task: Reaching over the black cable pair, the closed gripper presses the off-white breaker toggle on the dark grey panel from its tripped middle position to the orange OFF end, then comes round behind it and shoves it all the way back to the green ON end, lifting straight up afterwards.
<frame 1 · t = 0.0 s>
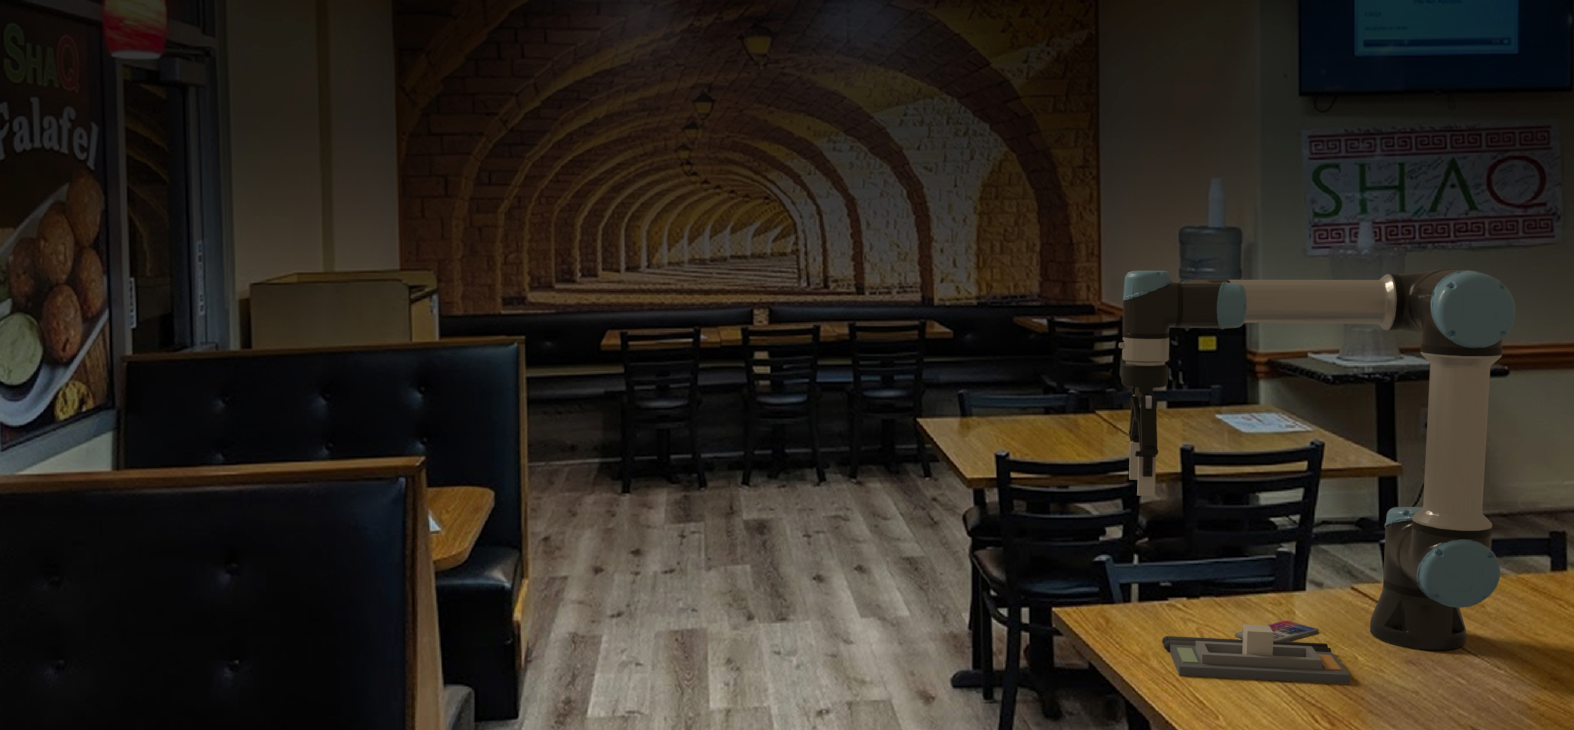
hand: (1141, 487, 216), 28 cm above the table, fingers open, 13 cm apart
breaker toggle: (1257, 643, 208), point 4 cm above the table, slide at 0.0 cm
cord a: (1246, 650, 217), on the table
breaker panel: (1256, 668, 208), on the table
cord b: (1248, 654, 215), on the table
smartphone: (1276, 637, 226), on the table
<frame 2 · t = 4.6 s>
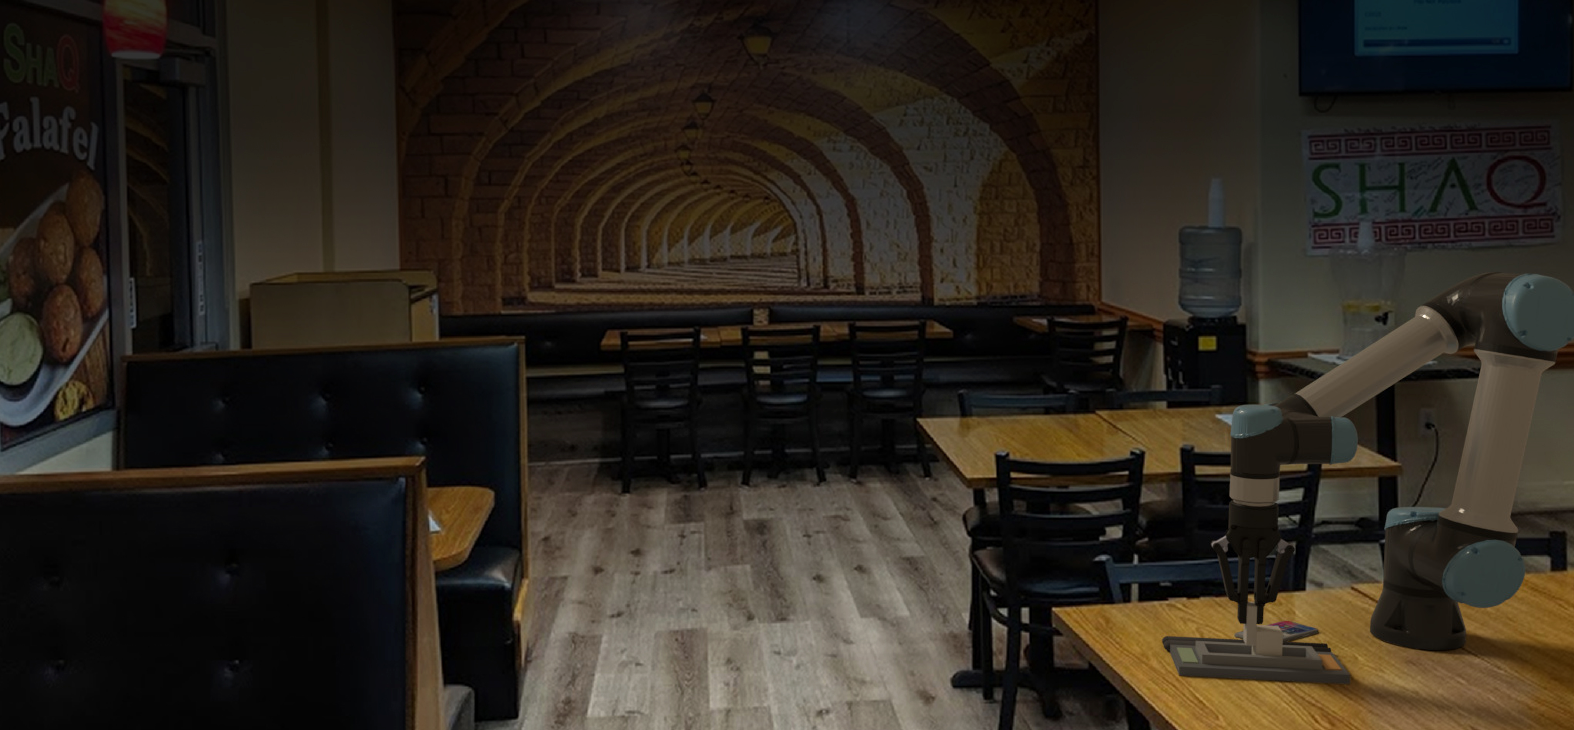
hand: (1249, 642, 208), 4 cm above the table, fingers closed
breaker toggle: (1267, 643, 207), point 4 cm above the table, slide at -1.5 cm, touching gripper
everything else where it was.
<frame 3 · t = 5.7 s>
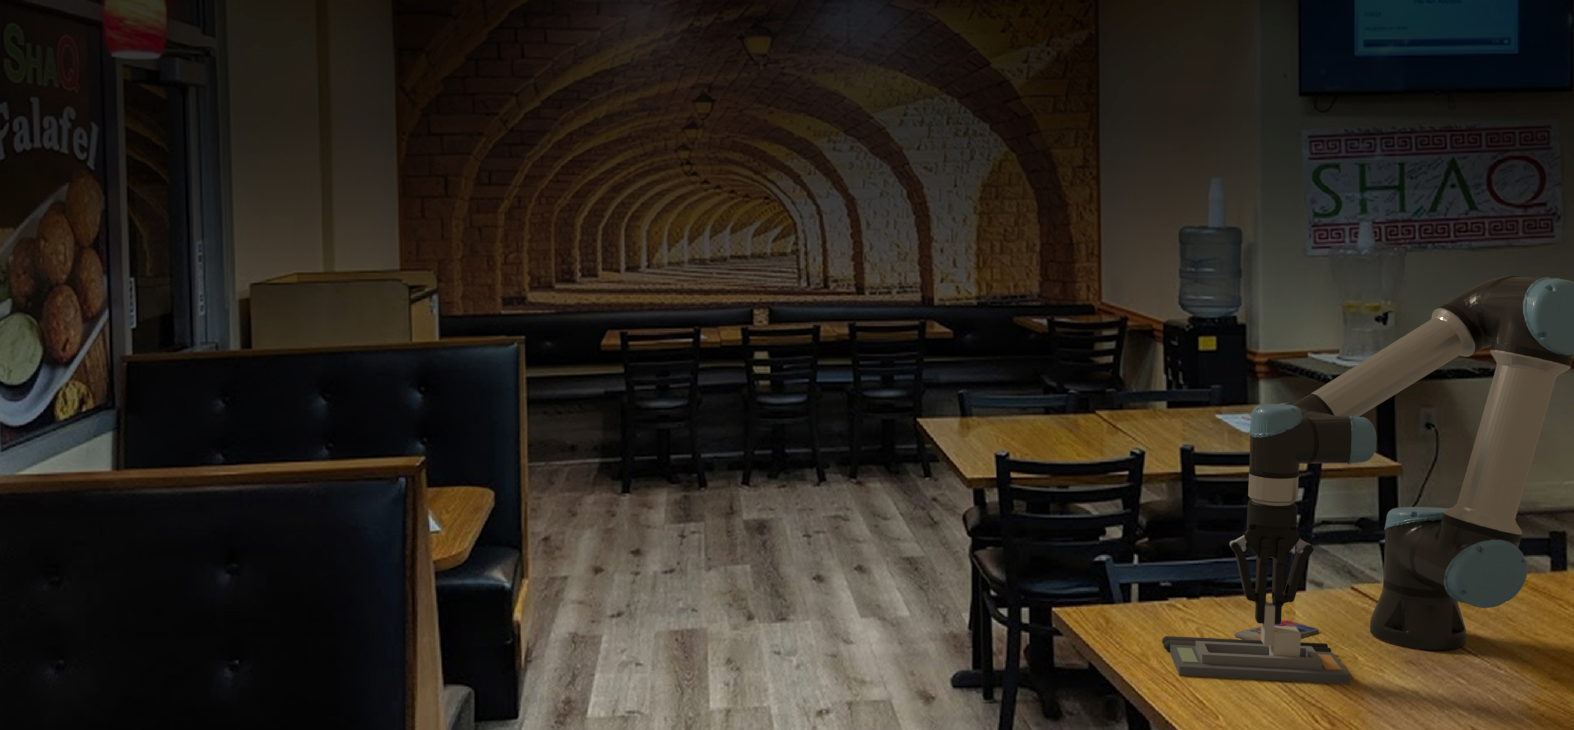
hand: (1267, 642, 207), 4 cm above the table, fingers closed
breaker toggle: (1284, 644, 207), point 4 cm above the table, slide at -4.2 cm, touching gripper
everything else where it was.
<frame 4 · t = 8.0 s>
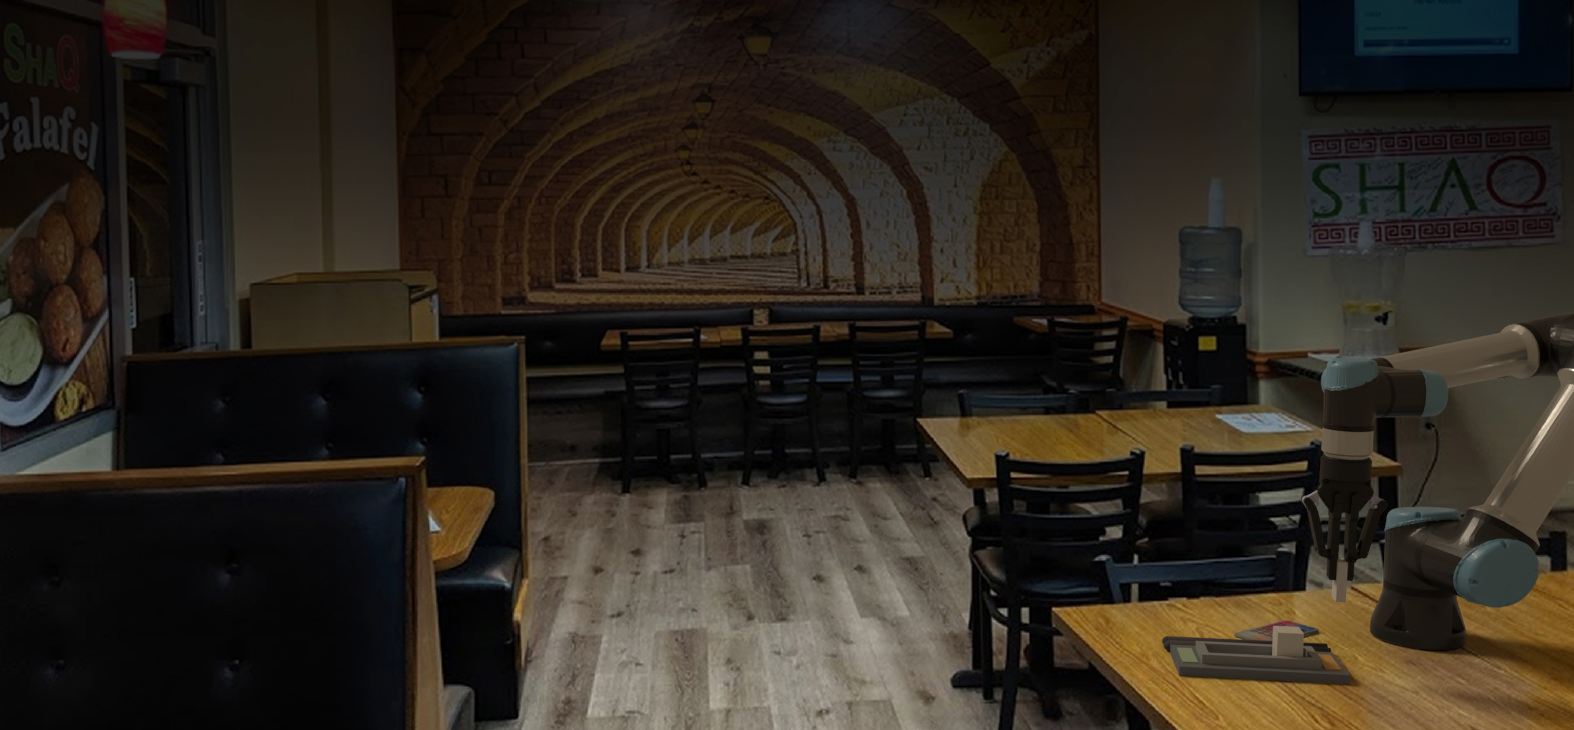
hand: (1338, 599, 205), 12 cm above the table, fingers closed
breaker toggle: (1287, 644, 207), point 4 cm above the table, slide at -4.7 cm
everything else where it was.
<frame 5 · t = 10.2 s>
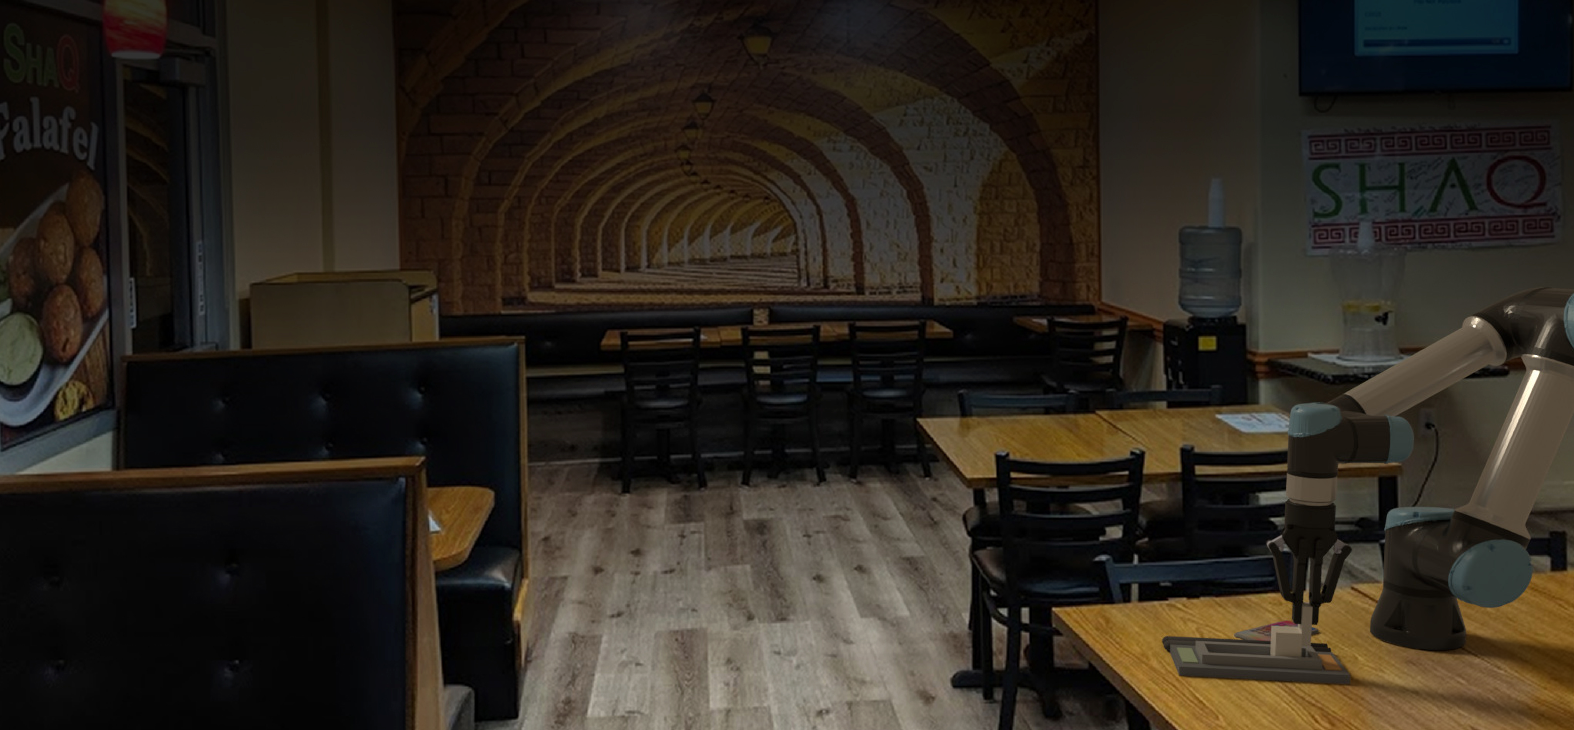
hand: (1303, 643, 206), 5 cm above the table, fingers closed
breaker toggle: (1286, 644, 207), point 4 cm above the table, slide at -4.4 cm, touching gripper
everything else where it was.
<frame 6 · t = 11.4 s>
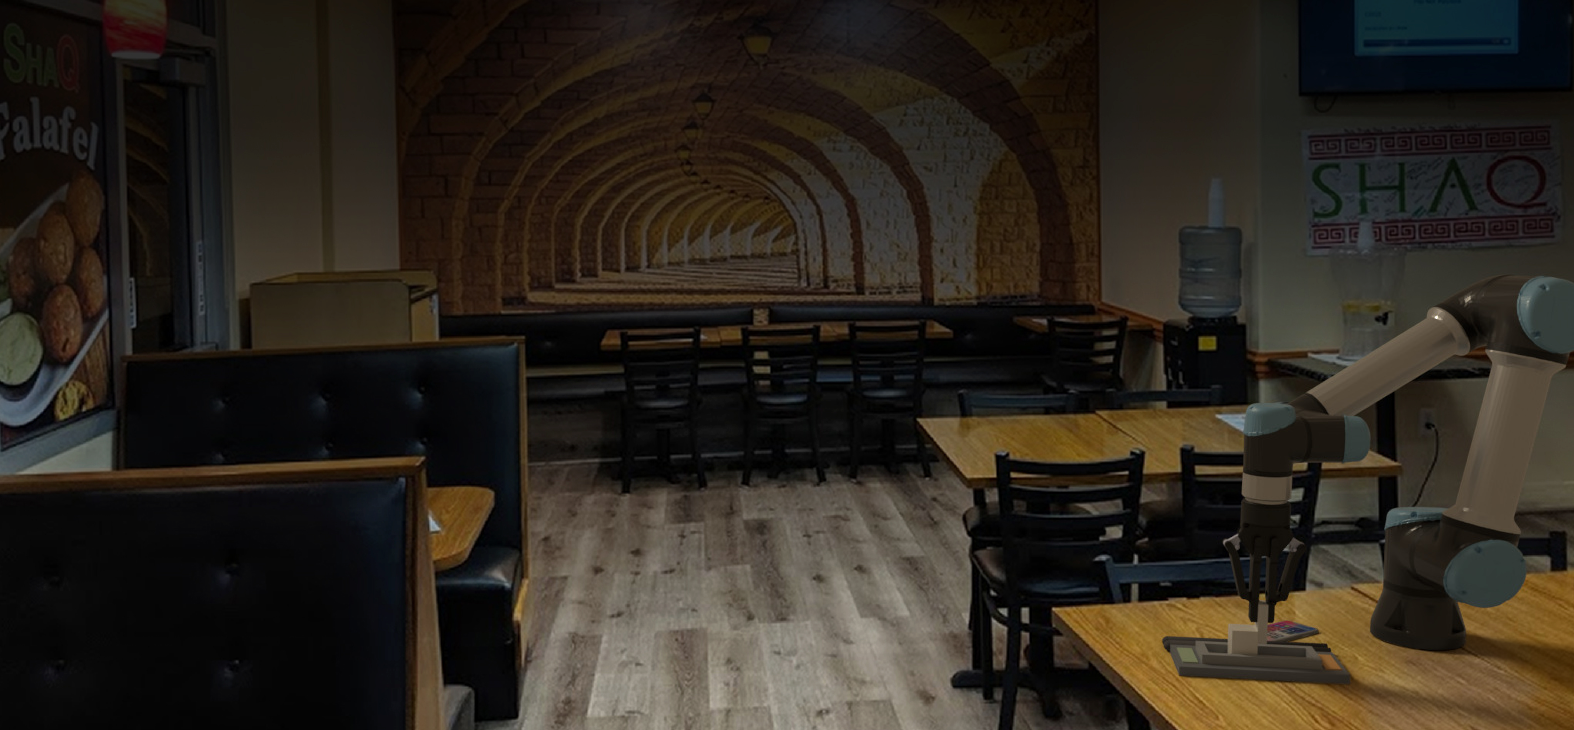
hand: (1260, 641, 207), 5 cm above the table, fingers closed
breaker toggle: (1242, 642, 208), point 4 cm above the table, slide at 2.4 cm, touching gripper
everything else where it was.
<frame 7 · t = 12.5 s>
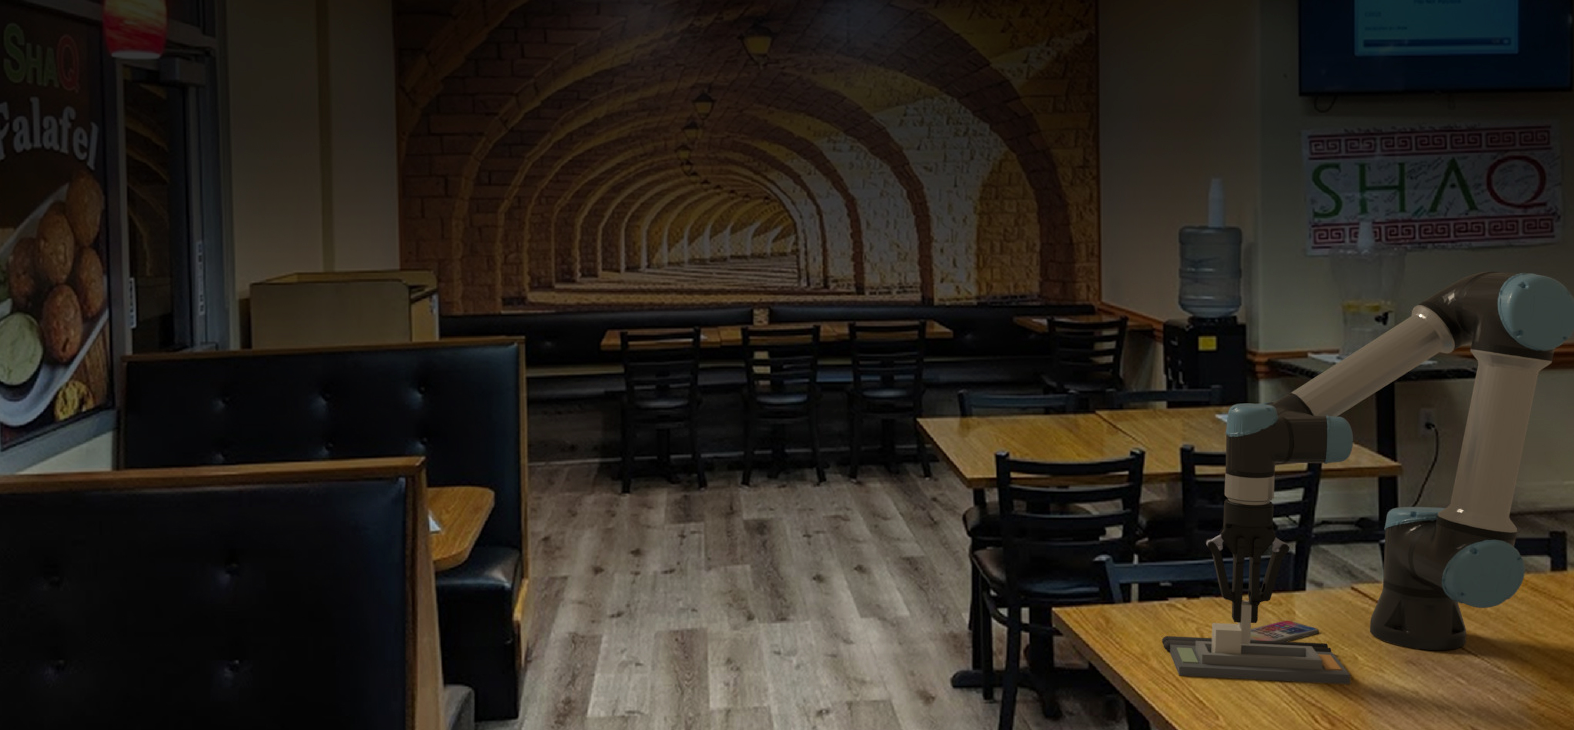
hand: (1243, 641, 208), 4 cm above the table, fingers closed
breaker toggle: (1226, 641, 208), point 4 cm above the table, slide at 4.9 cm, touching gripper
everything else where it was.
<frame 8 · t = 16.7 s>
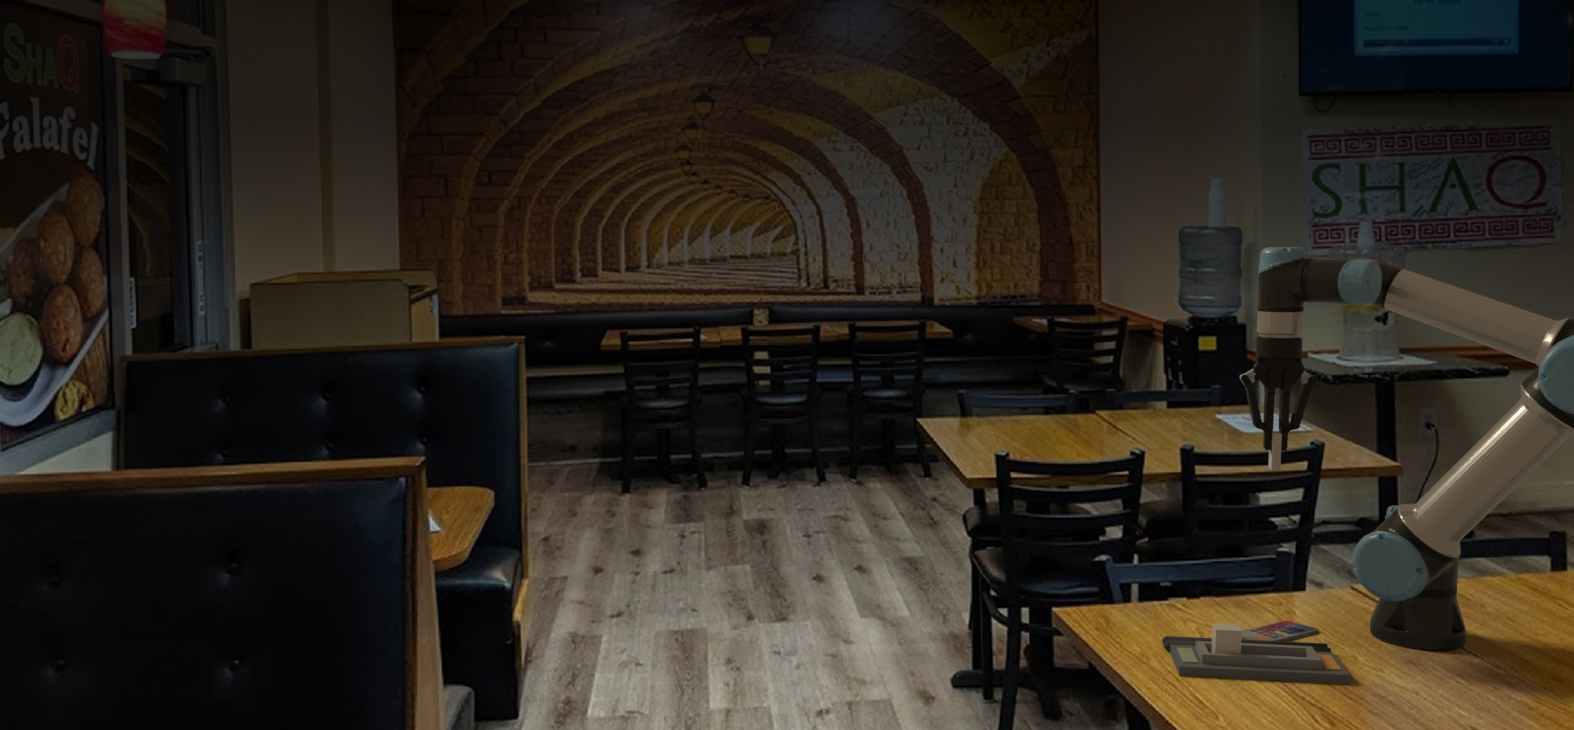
hand: (1274, 468, 225), 29 cm above the table, fingers closed
breaker toggle: (1226, 641, 208), point 4 cm above the table, slide at 4.9 cm
everything else where it was.
at the end: breaker toggle slide at 4.9 cm; the gripper is holding nothing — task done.
